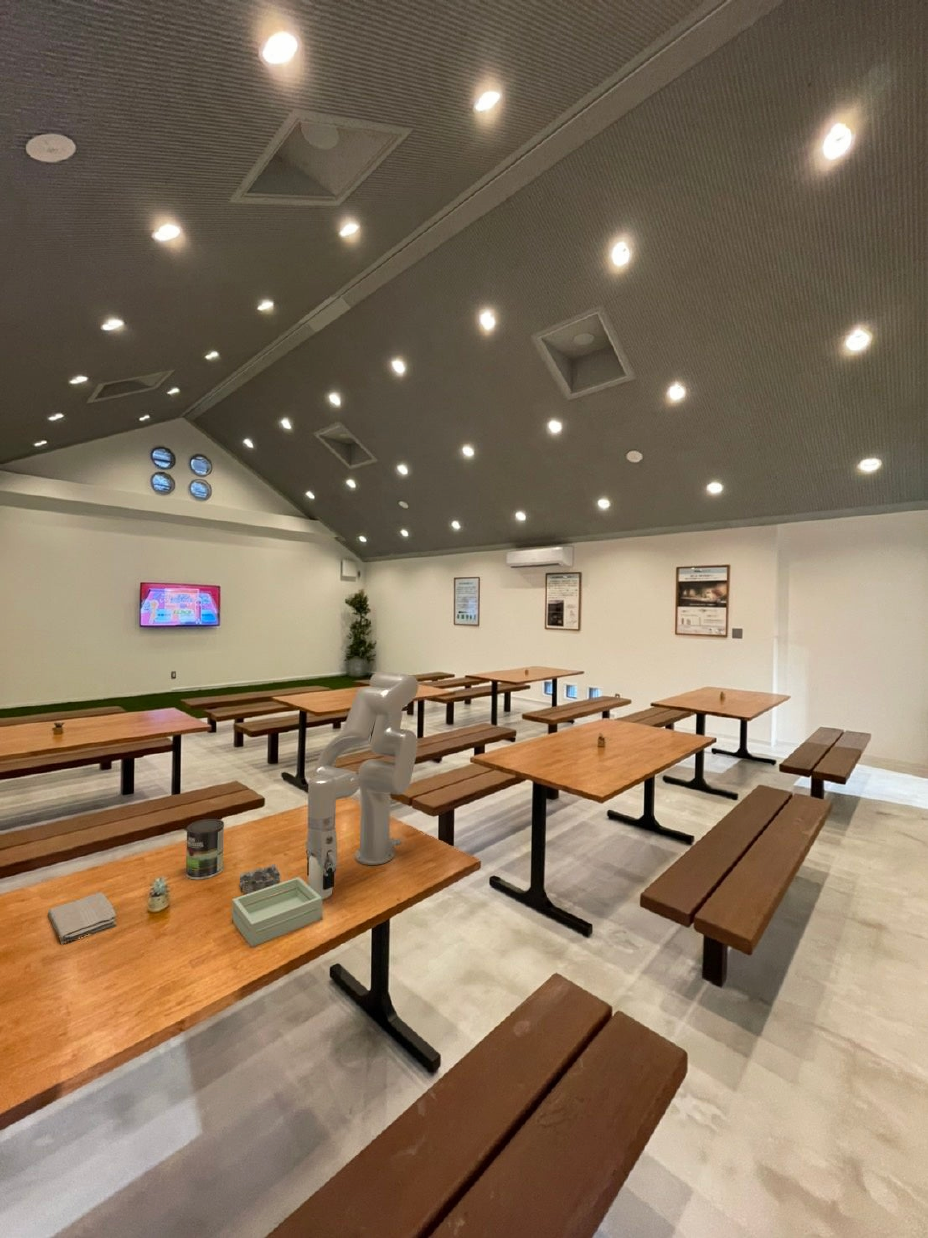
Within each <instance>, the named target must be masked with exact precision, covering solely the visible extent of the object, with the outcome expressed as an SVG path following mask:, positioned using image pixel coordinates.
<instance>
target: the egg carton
mask: <svg viewBox="0 0 928 1238" xmlns="http://www.w3.org/2000/svg"><path fill="white" fill-rule="evenodd" d="M281 877H282V875H281V874H280V872H279V870H278V867H277V866H276V865H275V864H272V865H271V866H268V867H264V868H259V869H256V870H255V869H254V870H252V871H245V872H242V873H241V874H240V875H239V876H238V879H239V888H240V889H242V894H249V893H252V892H255V891H258V890H261V889H264V888H267V887H270V886H273V885H276V884H279V883H281V882H280V878H281Z"/></svg>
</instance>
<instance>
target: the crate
mask: <svg viewBox="0 0 928 1238" xmlns="http://www.w3.org/2000/svg"><path fill="white" fill-rule="evenodd" d="M322 919H323V900H322V897H321V896H320V895H318V894H317V893H316V892H315V891H314V890H313V889H312V888H311V887H310V886H309V883H307V882H305V881H304V880H303V878H301V877H300V876H298V877H295V878H291V879H289V880H285V881H282V882H280V883H279V884H276V885H273V886H268V887H266V888H264V889H261V890H255V891H253V892H252V893H249V894H248V893H245V894H243V895H241V896H237V897H235V898H232V900H231V921H232V923H233V924H234V925H235V927H236V928H237V929H238V931H239V932H240V933H241V935H242V937H243V938H244V940H246V942H247V943H248V944H249V946H250V947H251V948H253V947H255V946H259V945H260V944H264V943H265V942H268V941H270V940H273V939H276V938H278V937H281V936H283V935H285V934H288V933H291V932H293V931H295V930H298V929H301V928H302V927H306V926H308V925H310V924H312V923H313V924H314V923H315V922H319V921H320V920H322Z"/></svg>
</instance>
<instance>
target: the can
mask: <svg viewBox="0 0 928 1238" xmlns="http://www.w3.org/2000/svg"><path fill="white" fill-rule="evenodd" d="M308 862H309V876H308V885H309V886H310V887H311V888H312V889H313V890H314V891H315V892H316V893H317V894H318V895H320V896H321V897H322V901H323V900H325V899H326V900H327V899H328V898H330V896H331V895H332V894H333V887H332V888H329V889H327V890H324V889H323V875H325V874H324V871H323V867H322V866H320V865H318V862H317V860H316V857H315V856H313V855H311V856H310V858H309V861H308ZM328 862H329V860H327V861H326V862H325V863H328ZM326 867H327V870H328V869H329V868H330V865H328V866H326Z"/></svg>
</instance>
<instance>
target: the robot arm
mask: <svg viewBox="0 0 928 1238" xmlns="http://www.w3.org/2000/svg"><path fill="white" fill-rule="evenodd" d="M418 681H419V680H418V679H417V678H416V677H415V676H414V675H411V674H406V673H405V674H404V673H394V672H376V673H373V675H372V676H371V677H370V680H369V686H364V687H361V688H359V689H358V690H357V691H356V693H355V696H354V697H353V701H352V703H351V707H350V709H349V712H348V714H347V715H348V716H347V718H346V720H345V723H344V727H343V729H342V730H341V732H340V733H339V734H338V735H337V736H336V737H334V738H333V739H332V740H331V741H330V742H329V743H328V744H327V745H326V746H325V747H324V749H323V750H322V751H321V753H320V754H319V757H318V759H317V762H316V765H315V766H314V770H313V774H312V777H311V778H310V779H309V780H308V786H307V787H308V790H307V795H308V796H307V839H306V841H305V847H306V848H305V849H306V850H305V853H306V855H307V856H306V861H307V862H306V864H307V865H306V871H307V872H306V875H307V876H308V877H309V858H310V856H311V855H313V856H315V857H316V860H317V862H318V865H320V866H322V867H323V871H324V874H325V875H323V889H324V890H327V889H329V888H332V889H333V888H334V887H335V874H336V871H337V868H338V865H339V864H338V840H337V839H338V838H337V831H336V802H337V800H339V799H345V798H349V797H351V796H353V795H354V794H356V793H357V792H358V790H359V792H360V793H359V794H360V828H359V829H360V830H359V836H360V838H359V848H358V849H357V850H356V851H355V853H354V859H355V860H356V861H357V862H358V863H359V864H363V865H368V866H378V865H382V864H385V863H388V862H389V861H391V860H393V858H394V857H395V851H394V849H393V848H395V847H396V846H400V845H402V843H403V840H402V838H401V837H399V838H396V839H395V838H394V837H390V833H391V829H390V828H391V800H390V796H389V794H393V795H403V794H405V793H406V792H407V791H408V789H409V787H410V783H411V781H412V777H413V772H414V766H415V763H416V757H417V753H418V746H419V744H418V743H419V742H418V737H417V735H416V733H415V732H413V731H412V730H410V729H407V728H401V724H402V719H403V708H405V707H406V706H407V705H409V704H410V703H411V702H412V701H413V700H414V699H415V697H416V696H417V694H418V691H419V682H418ZM370 739H371V740H370ZM369 740H370V745H369V746H370V750H371V751H372V752H373V754H375V755H378V756H382V757H387V758H392V759H393V758H394V760H395V761H388V760H384V759H378V758H369V759H367V760H365V761H364V760H363V762H362V763H361V764H360V766H359V768H358V772H356V771H353V770H349V769H345V768H339V767H335V764H336V762H337V760H338V758H339V757H340V756H341V755H342V754H343V753H344V752H346V751H347V750H349V749H351V748H354V747H357V746H358V745H362V744H364V743H367V742H368V741H369ZM327 860H329V862H328V863H325V862H326V861H327ZM328 865H330V868H329V869H328V870H327V867H326V866H328Z"/></svg>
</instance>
